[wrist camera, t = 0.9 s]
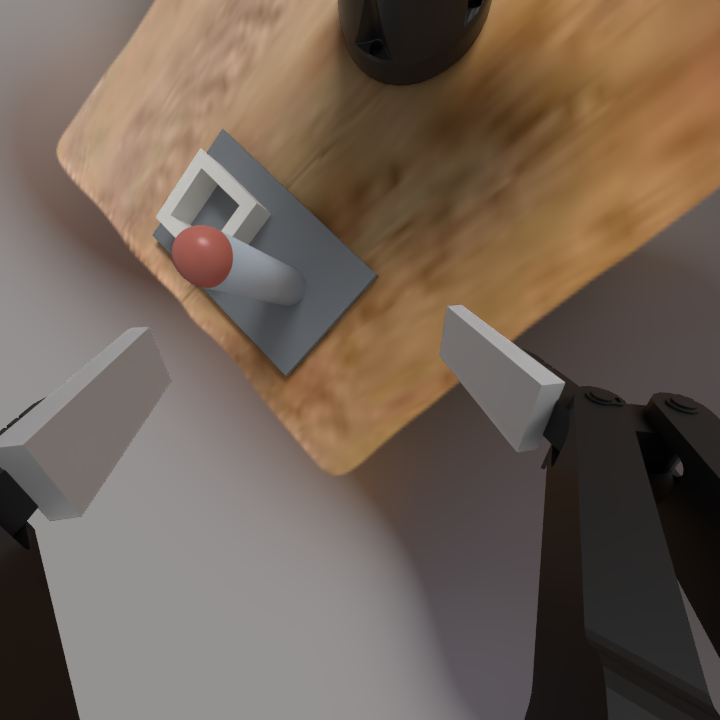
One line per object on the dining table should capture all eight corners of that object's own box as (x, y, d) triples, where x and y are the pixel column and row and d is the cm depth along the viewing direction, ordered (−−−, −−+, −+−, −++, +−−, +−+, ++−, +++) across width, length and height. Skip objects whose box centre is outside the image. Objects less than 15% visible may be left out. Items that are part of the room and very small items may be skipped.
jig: (159, 237, 40) (129, 226, 36) (228, 134, 36) (204, 109, 33) (289, 375, 37) (272, 379, 33) (378, 276, 33) (370, 268, 30)
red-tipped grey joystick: (263, 288, 36) (145, 253, 21) (286, 259, 35) (180, 200, 20) (288, 313, 35) (185, 296, 20) (313, 285, 34) (223, 244, 19)
